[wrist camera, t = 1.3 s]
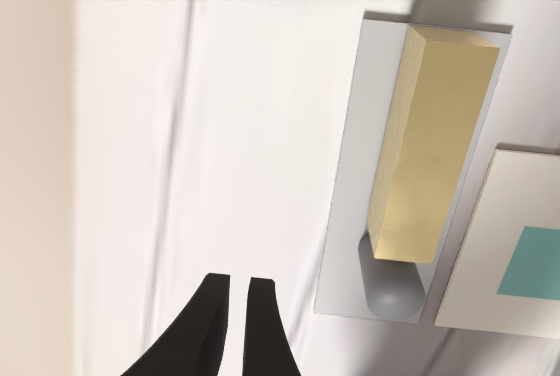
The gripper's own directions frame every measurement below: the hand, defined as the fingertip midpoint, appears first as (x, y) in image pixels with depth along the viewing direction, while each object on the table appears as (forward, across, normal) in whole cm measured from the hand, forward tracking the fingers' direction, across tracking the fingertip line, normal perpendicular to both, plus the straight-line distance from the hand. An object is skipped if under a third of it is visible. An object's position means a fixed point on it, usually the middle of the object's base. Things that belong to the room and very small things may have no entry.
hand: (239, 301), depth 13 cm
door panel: (+9, -11, +1) cm, 14 cm away
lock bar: (+9, -7, -2) cm, 11 cm away
